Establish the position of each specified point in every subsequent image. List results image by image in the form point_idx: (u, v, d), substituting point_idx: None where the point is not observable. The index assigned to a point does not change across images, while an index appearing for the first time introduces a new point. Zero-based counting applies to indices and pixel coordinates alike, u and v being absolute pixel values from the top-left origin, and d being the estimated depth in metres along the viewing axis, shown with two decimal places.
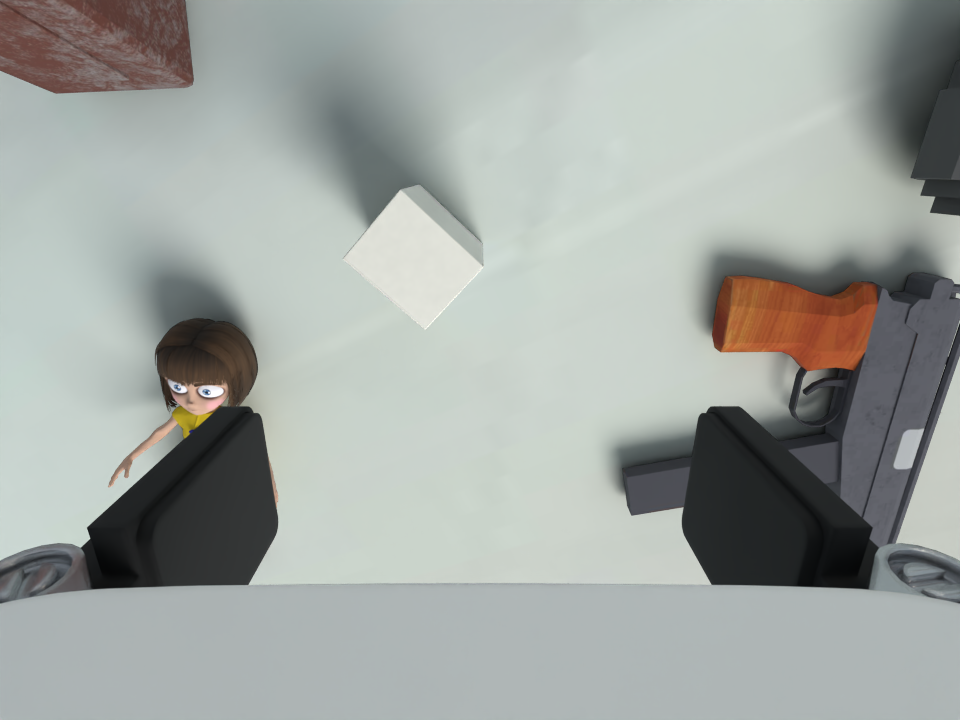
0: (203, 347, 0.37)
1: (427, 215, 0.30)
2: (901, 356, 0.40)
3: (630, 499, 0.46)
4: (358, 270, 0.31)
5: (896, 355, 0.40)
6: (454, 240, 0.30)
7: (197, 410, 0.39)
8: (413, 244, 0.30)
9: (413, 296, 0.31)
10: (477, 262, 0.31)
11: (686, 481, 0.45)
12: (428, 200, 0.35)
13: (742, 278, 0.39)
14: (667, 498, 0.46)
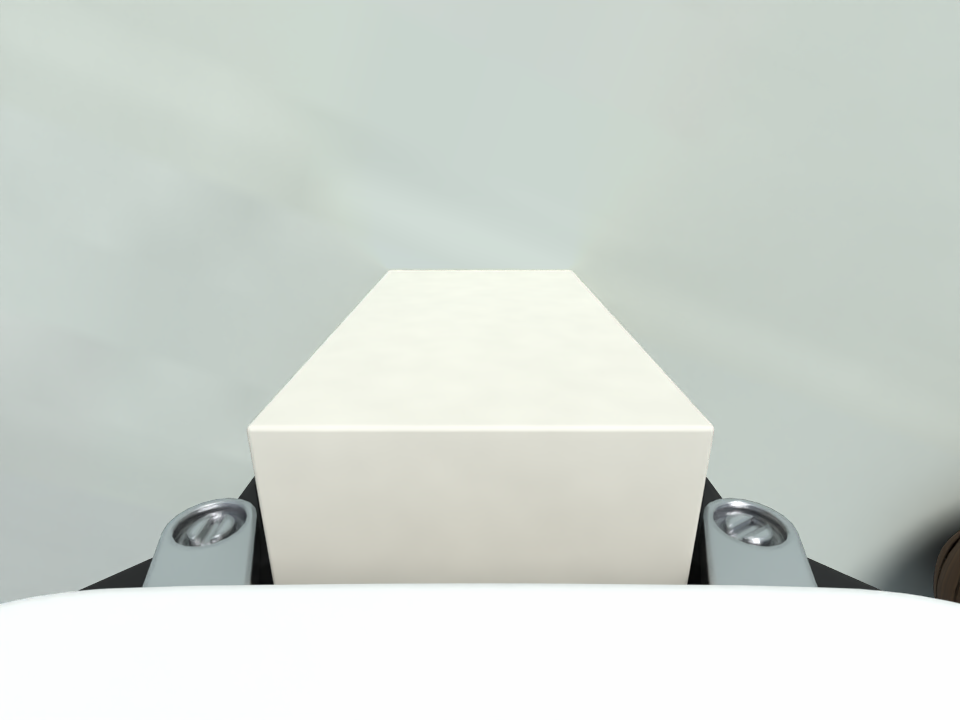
0: None
1: None
2: None
3: None
4: None
5: None
6: None
7: None
8: None
9: (602, 562, 0.07)
10: (257, 461, 0.06)
11: None
12: None
13: None
14: None
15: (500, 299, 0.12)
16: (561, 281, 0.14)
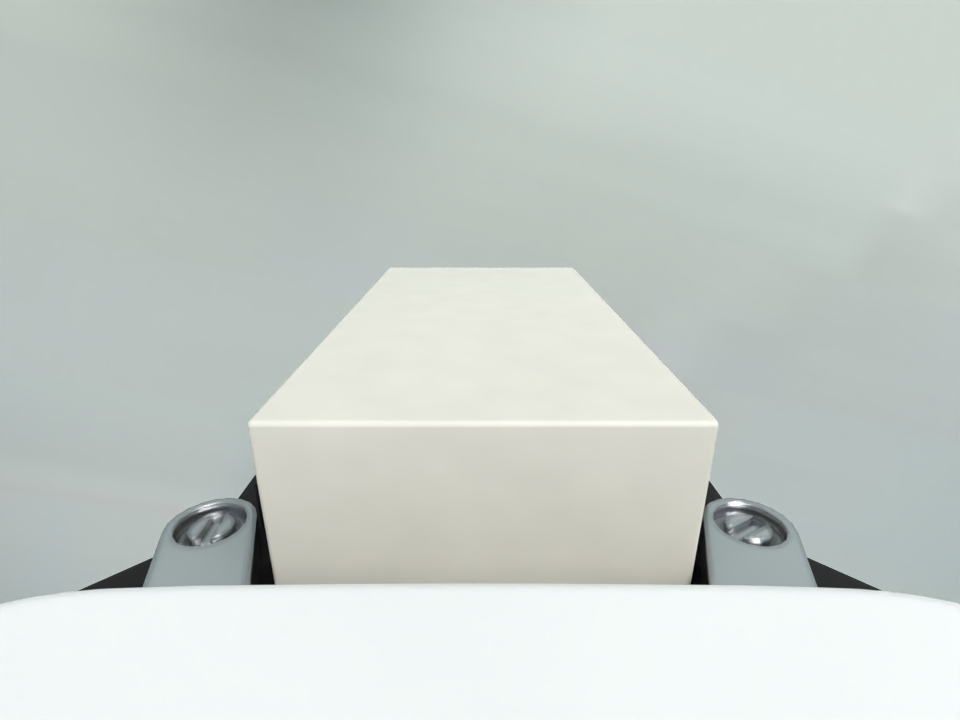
0: None
1: None
2: None
3: None
4: None
5: None
6: (277, 582, 0.07)
7: None
8: None
9: (605, 558, 0.07)
10: (257, 457, 0.06)
11: None
12: None
13: None
14: None
15: (501, 296, 0.12)
16: (562, 278, 0.13)
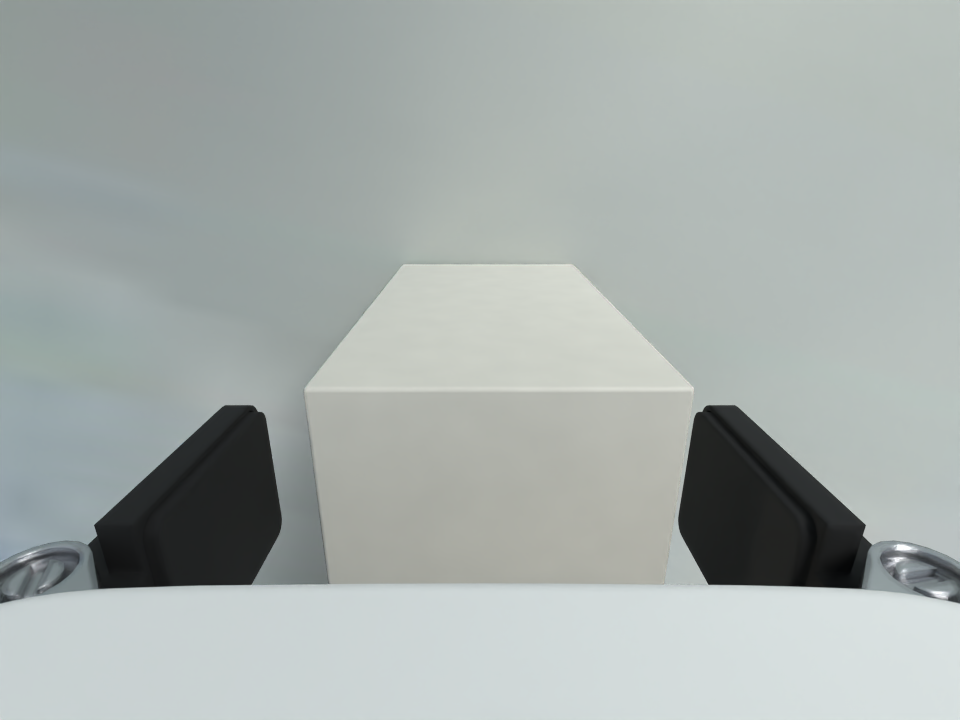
0: None
1: None
2: None
3: None
4: None
5: None
6: (323, 527, 0.08)
7: None
8: None
9: (600, 506, 0.08)
10: (311, 418, 0.07)
11: None
12: None
13: None
14: None
15: (508, 289, 0.13)
16: (563, 274, 0.15)
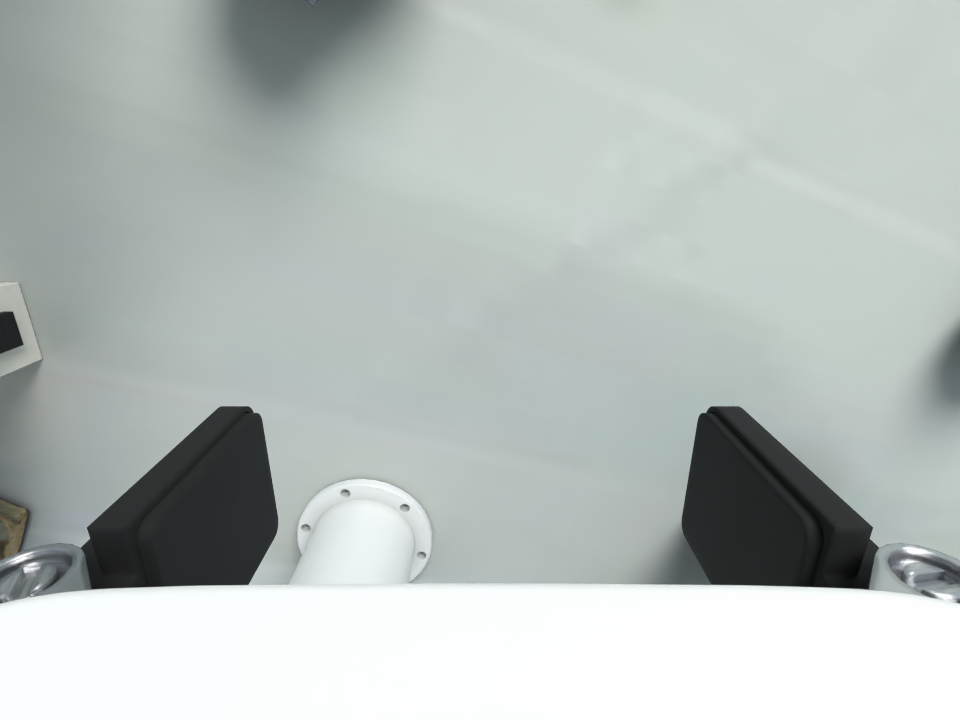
0: None
1: None
2: None
3: None
4: None
5: None
6: None
7: None
8: None
9: None
10: None
11: None
12: None
13: None
14: None
15: None
16: None
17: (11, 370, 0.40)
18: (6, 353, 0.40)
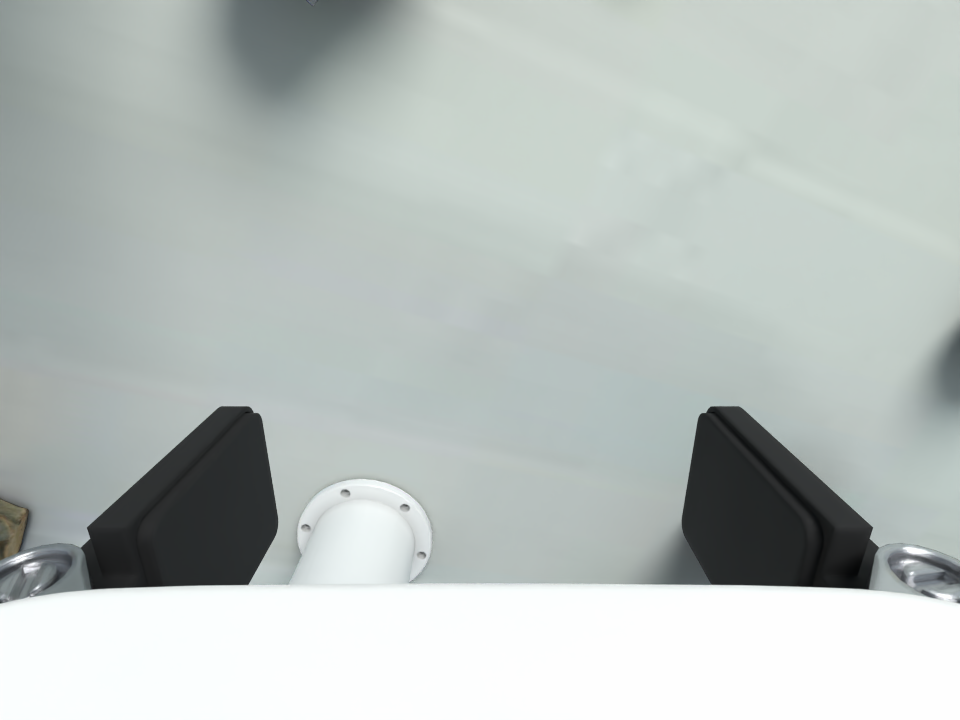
0: None
1: None
2: None
3: None
4: None
5: None
6: None
7: None
8: None
9: None
10: None
11: None
12: None
13: None
14: None
15: None
16: None
17: None
18: None
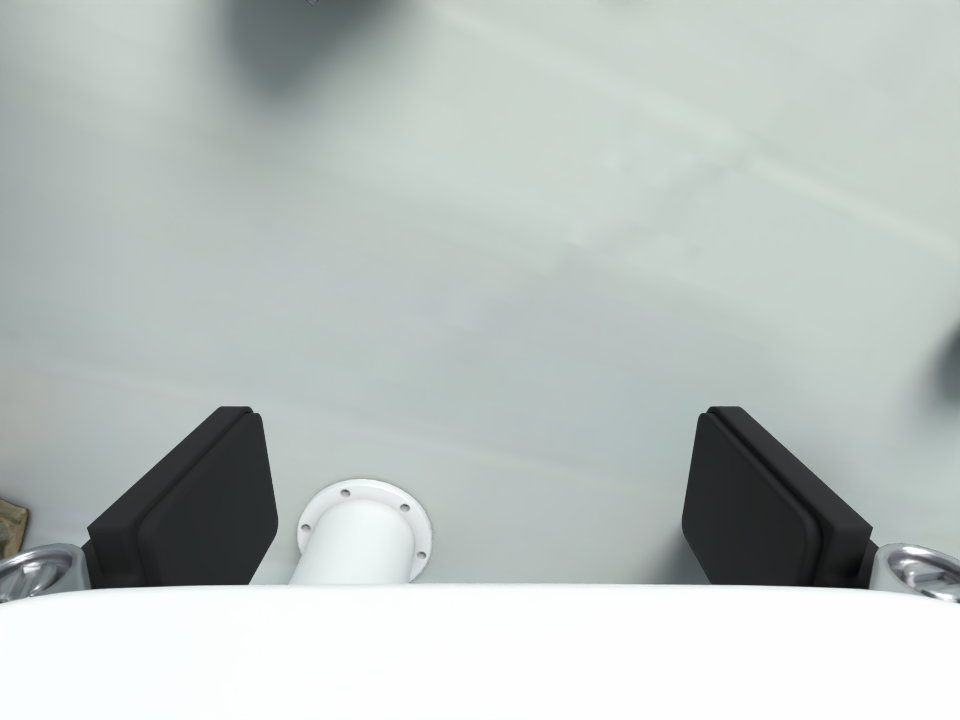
0: None
1: None
2: None
3: None
4: None
5: None
6: None
7: None
8: None
9: None
10: None
11: None
12: None
13: None
14: None
15: None
16: None
17: None
18: None
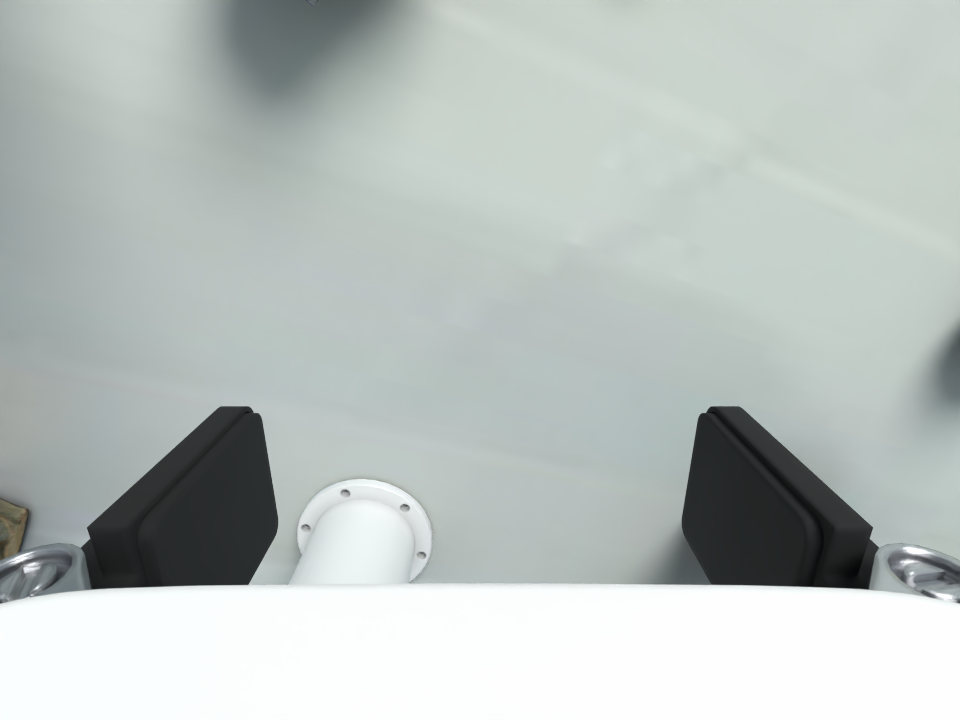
0: None
1: None
2: None
3: None
4: None
5: None
6: None
7: None
8: None
9: None
10: None
11: None
12: None
13: None
14: None
15: None
16: None
17: None
18: None
